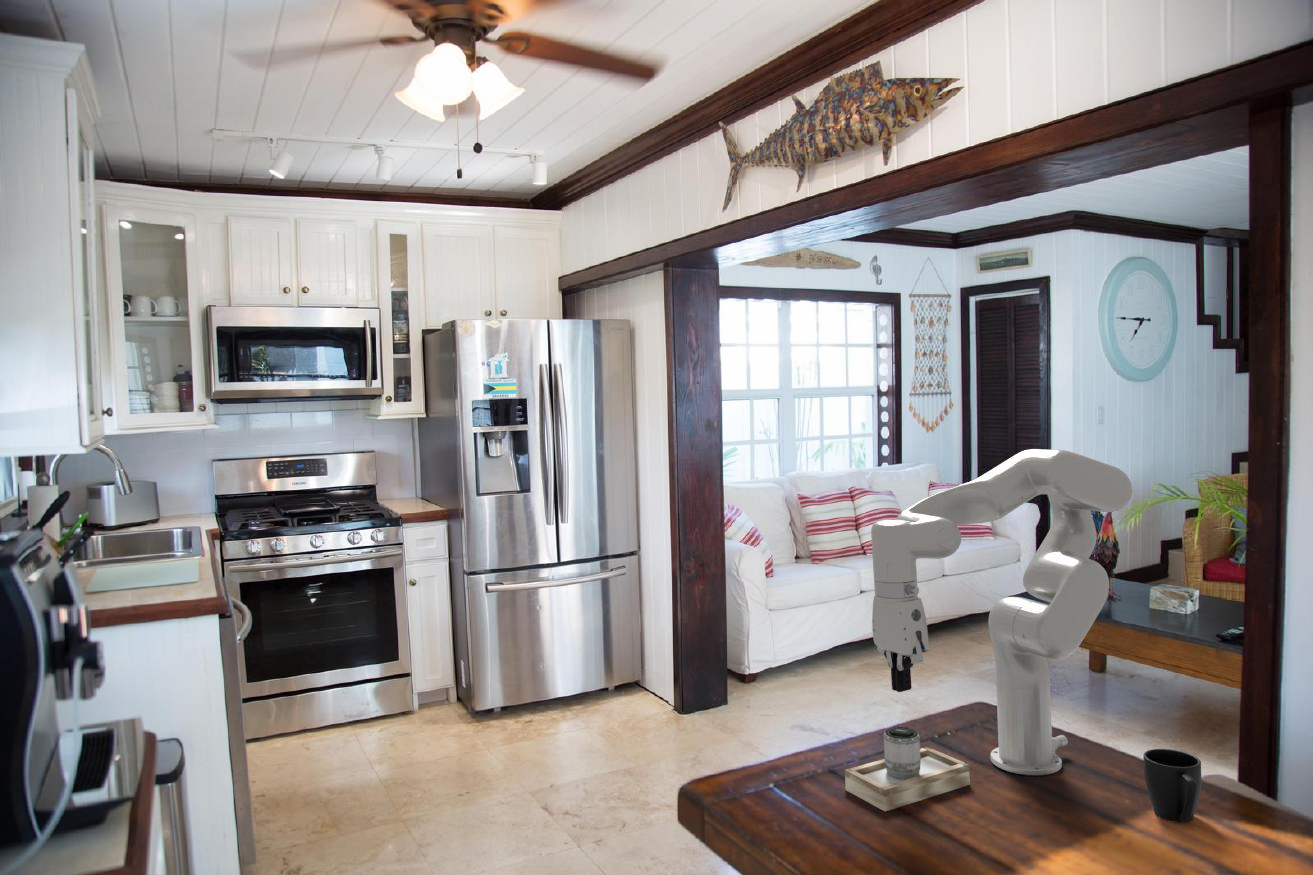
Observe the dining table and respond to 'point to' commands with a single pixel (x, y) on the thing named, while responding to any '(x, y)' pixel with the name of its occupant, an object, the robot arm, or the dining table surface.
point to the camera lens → (902, 752)
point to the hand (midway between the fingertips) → (901, 689)
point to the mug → (1173, 783)
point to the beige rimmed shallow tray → (907, 780)
